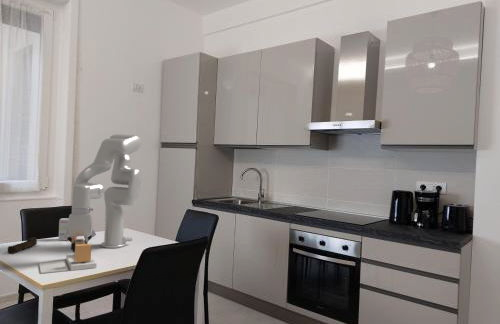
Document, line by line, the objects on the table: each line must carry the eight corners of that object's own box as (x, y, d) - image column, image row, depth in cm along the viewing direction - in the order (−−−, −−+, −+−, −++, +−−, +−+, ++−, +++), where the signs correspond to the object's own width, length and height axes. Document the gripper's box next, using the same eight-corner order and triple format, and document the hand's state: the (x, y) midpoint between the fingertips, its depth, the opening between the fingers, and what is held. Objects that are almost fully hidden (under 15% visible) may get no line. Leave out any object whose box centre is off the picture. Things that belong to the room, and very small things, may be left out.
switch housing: (89, 257, 178) (89, 253, 178) (96, 267, 163) (96, 263, 163) (66, 259, 173) (66, 255, 173) (70, 270, 158) (71, 265, 158)
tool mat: (64, 261, 171) (64, 259, 171) (68, 270, 157) (68, 269, 157) (38, 263, 165) (38, 262, 165) (40, 273, 152) (40, 272, 152)
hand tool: (14, 254, 178) (15, 244, 178) (6, 253, 178) (7, 244, 178) (41, 245, 197) (41, 236, 197) (34, 245, 197) (34, 236, 197)
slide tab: (89, 259, 167) (90, 243, 167) (90, 261, 164) (91, 245, 164) (74, 260, 163) (75, 244, 163) (75, 262, 161) (76, 246, 161)
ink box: (77, 238, 215) (78, 218, 214) (74, 240, 210) (75, 219, 210) (60, 238, 213) (61, 217, 213) (58, 240, 208) (59, 219, 208)
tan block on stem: (82, 251, 178) (83, 238, 178) (87, 260, 166) (87, 246, 166) (73, 252, 176) (73, 239, 176) (77, 261, 164) (77, 247, 164)
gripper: (98, 209, 181) (96, 247, 182) (59, 210, 172) (58, 250, 173) (101, 211, 175) (99, 251, 175) (61, 213, 166) (59, 254, 166)
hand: (79, 250), depth 174 cm, fingers closed on tan block on stem, 4 cm apart
